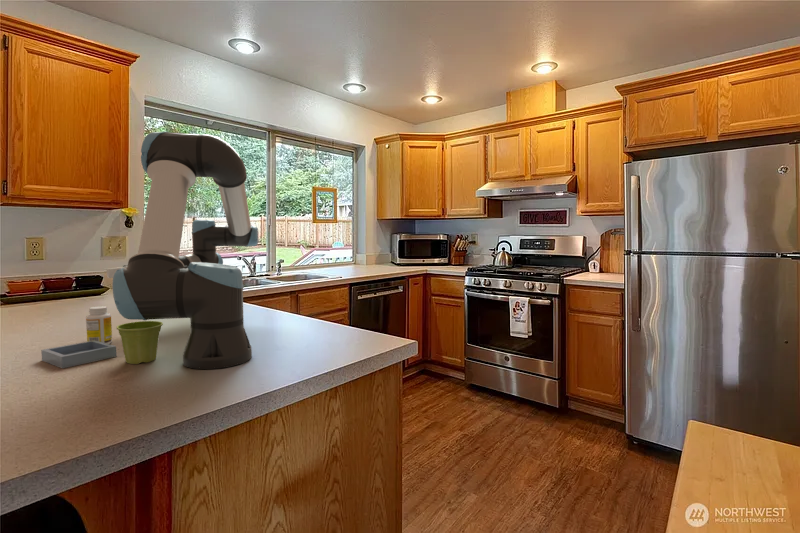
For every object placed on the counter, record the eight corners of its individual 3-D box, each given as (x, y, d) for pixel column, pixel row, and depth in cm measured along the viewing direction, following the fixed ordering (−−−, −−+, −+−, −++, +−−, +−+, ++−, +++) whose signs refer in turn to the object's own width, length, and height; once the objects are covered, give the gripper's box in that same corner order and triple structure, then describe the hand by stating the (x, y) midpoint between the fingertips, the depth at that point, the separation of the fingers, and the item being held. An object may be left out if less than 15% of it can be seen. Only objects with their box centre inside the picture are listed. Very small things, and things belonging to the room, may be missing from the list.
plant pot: (172, 355, 103) (171, 321, 102) (145, 367, 94) (144, 329, 93) (137, 354, 104) (136, 320, 103) (107, 365, 95) (106, 328, 94)
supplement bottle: (110, 340, 117) (108, 305, 116) (114, 344, 113) (112, 307, 112) (85, 344, 113) (84, 307, 113) (88, 348, 109) (86, 309, 109)
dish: (116, 356, 102) (116, 346, 102) (62, 368, 92) (61, 357, 92) (95, 350, 107) (94, 340, 107) (41, 360, 98) (41, 349, 98)
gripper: (214, 280, 136) (159, 291, 116) (155, 275, 144) (94, 284, 124) (213, 257, 135) (158, 264, 115) (154, 253, 143) (92, 259, 123)
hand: (125, 275), depth 119 cm, fingers open, 13 cm apart
